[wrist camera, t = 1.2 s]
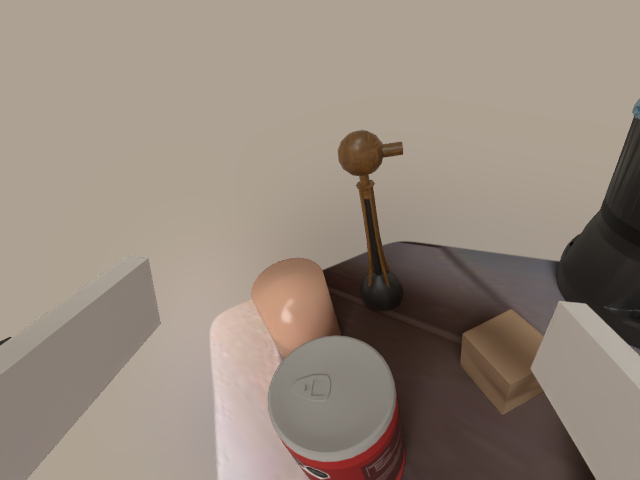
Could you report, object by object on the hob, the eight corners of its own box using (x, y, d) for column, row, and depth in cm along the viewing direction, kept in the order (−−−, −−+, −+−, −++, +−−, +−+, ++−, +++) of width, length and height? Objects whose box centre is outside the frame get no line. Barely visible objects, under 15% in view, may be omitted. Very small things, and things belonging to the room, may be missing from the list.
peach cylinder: (341, 310, 39) (325, 253, 33) (341, 366, 33) (322, 309, 28) (283, 316, 40) (259, 262, 34) (274, 371, 35) (244, 317, 29)
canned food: (303, 417, 30) (266, 349, 24) (389, 397, 30) (376, 322, 23) (313, 524, 24) (265, 473, 17) (420, 500, 24) (414, 438, 17)
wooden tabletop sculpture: (410, 278, 40) (399, 114, 28) (414, 309, 37) (403, 136, 25) (361, 281, 42) (330, 126, 29) (360, 311, 38) (325, 148, 26)
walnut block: (504, 342, 32) (511, 308, 29) (551, 387, 28) (565, 354, 25) (460, 365, 31) (462, 333, 28) (502, 415, 27) (510, 384, 24)
